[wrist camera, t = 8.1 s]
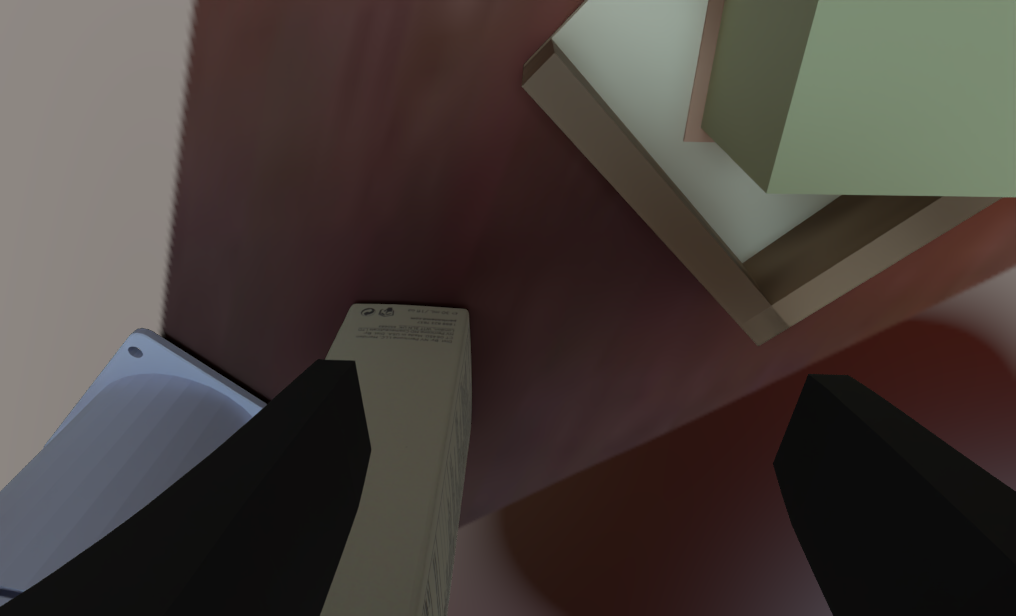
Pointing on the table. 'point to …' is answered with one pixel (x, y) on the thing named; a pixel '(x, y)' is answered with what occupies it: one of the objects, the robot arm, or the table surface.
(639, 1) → the arena
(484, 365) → the table surface
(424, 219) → the table surface
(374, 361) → the skincare box
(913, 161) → the olive cube
